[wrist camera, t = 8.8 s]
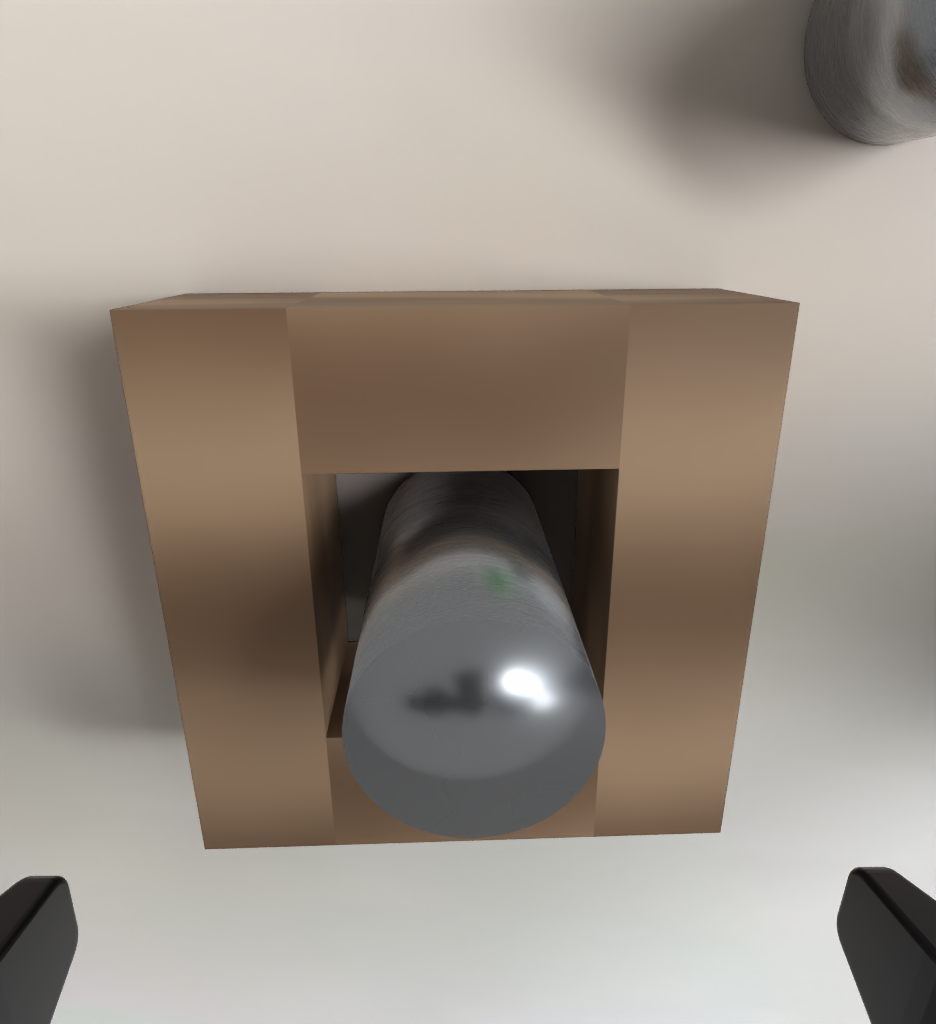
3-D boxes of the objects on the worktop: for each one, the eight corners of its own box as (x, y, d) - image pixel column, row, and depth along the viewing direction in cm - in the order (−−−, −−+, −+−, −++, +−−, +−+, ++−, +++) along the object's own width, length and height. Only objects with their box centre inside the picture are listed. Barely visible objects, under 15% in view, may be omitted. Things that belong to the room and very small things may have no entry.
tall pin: (563, 566, 19) (643, 781, 11) (426, 626, 19) (416, 870, 12) (499, 432, 17) (543, 576, 10) (353, 500, 18) (292, 685, 11)
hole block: (670, 725, 21) (720, 832, 17) (248, 737, 20) (204, 849, 17) (718, 288, 16) (799, 303, 13) (186, 293, 16) (109, 310, 12)
